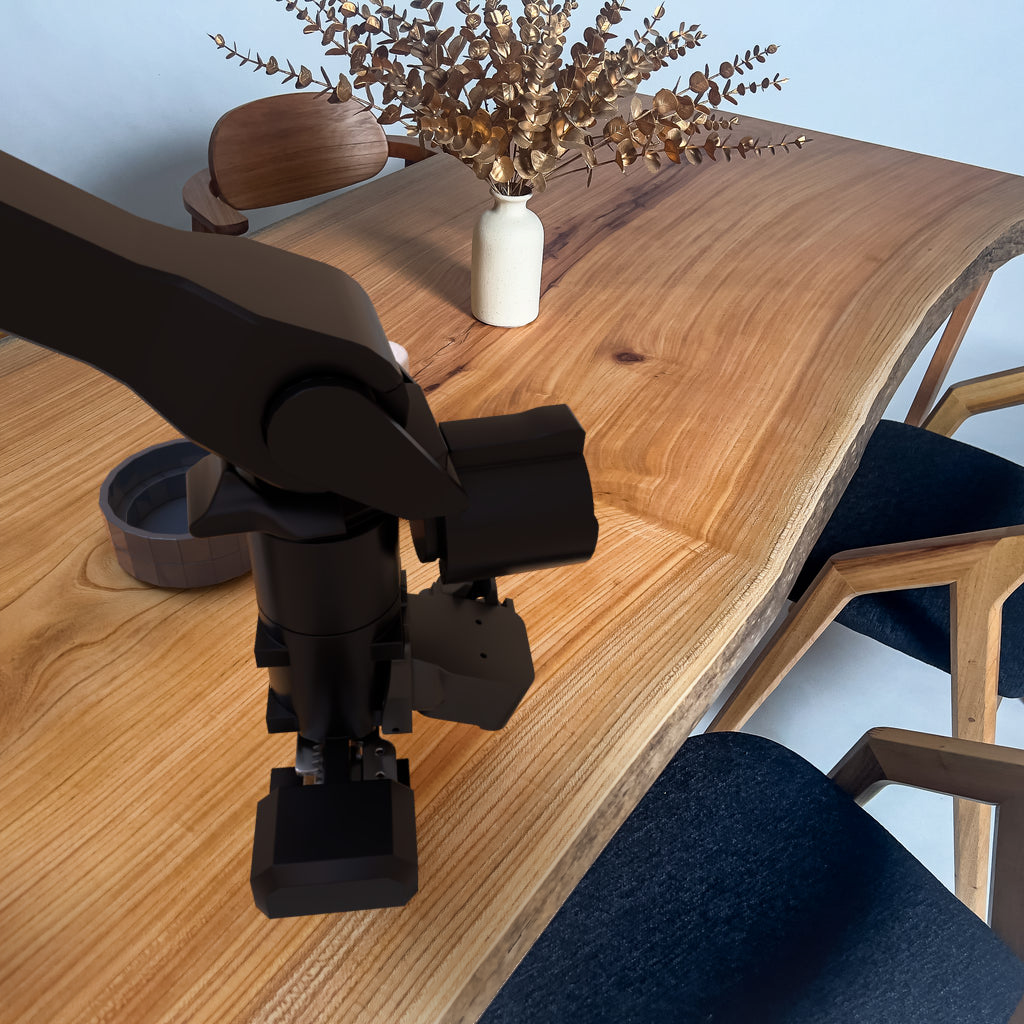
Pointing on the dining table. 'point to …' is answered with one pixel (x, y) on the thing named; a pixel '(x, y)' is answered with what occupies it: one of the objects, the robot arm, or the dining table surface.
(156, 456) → the bowl
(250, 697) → the dining table surface
